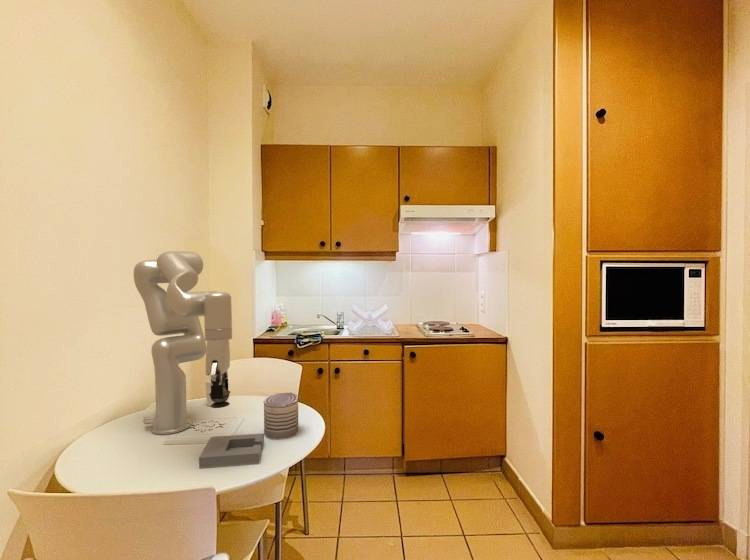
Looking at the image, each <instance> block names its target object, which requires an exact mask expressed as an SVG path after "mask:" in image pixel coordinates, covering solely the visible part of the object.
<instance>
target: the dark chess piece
mask: <svg viewBox="0 0 750 560" xmlns="http://www.w3.org/2000/svg"><path fill="white" fill-rule="evenodd" d="M216 374H220V372H217V373H216ZM217 377H218V378H219V376H217ZM226 379H227V378H226ZM226 379H225V375H224V374H222V384H223V398H222V399H211V400H212V401H213V402H215V403H213V404H212V405H211V407H210V408H213V409H222V408H225V407H229V406H230V404H231V403H230V402H228V401H227V400H228V399H229V397H230V394H231V390H229V389H228V390H226V388H225V380H226ZM209 395H210V398H211V393H210V394H209Z"/></svg>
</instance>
